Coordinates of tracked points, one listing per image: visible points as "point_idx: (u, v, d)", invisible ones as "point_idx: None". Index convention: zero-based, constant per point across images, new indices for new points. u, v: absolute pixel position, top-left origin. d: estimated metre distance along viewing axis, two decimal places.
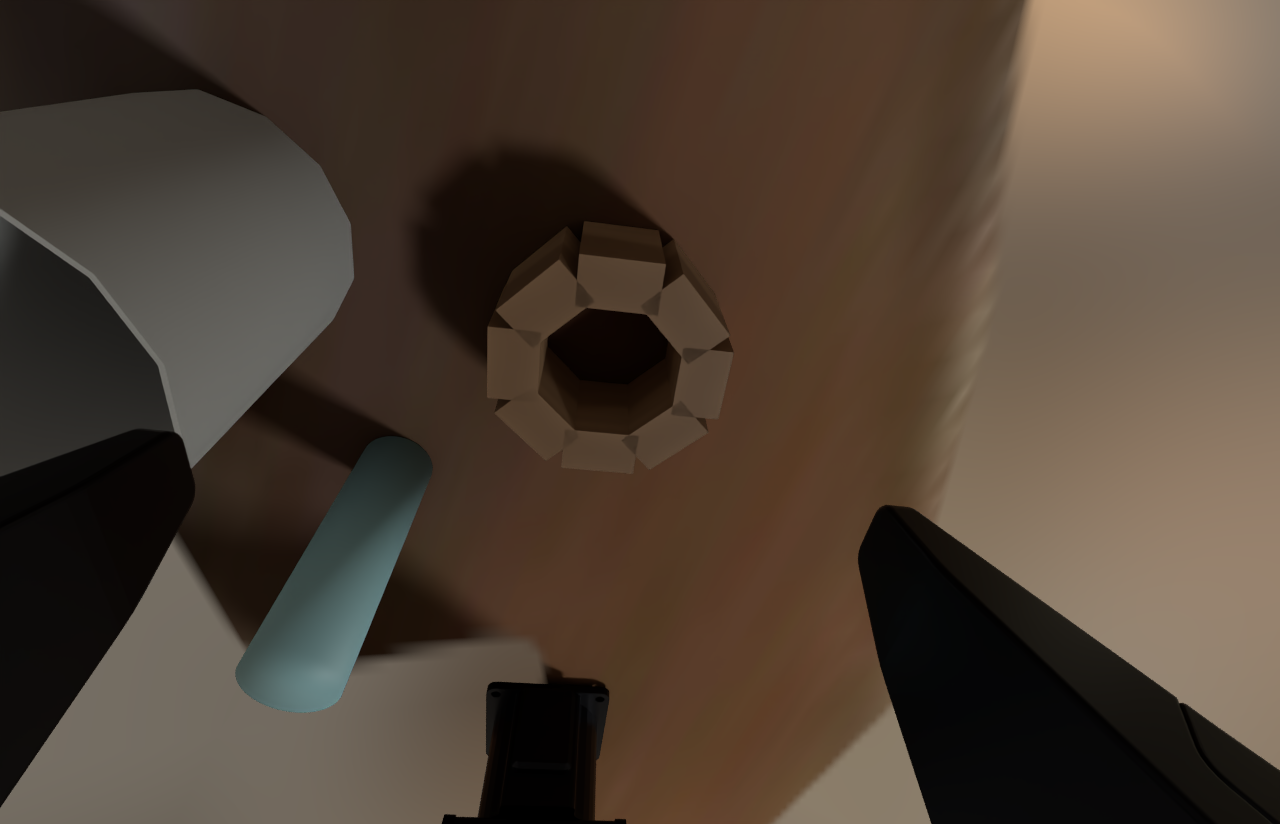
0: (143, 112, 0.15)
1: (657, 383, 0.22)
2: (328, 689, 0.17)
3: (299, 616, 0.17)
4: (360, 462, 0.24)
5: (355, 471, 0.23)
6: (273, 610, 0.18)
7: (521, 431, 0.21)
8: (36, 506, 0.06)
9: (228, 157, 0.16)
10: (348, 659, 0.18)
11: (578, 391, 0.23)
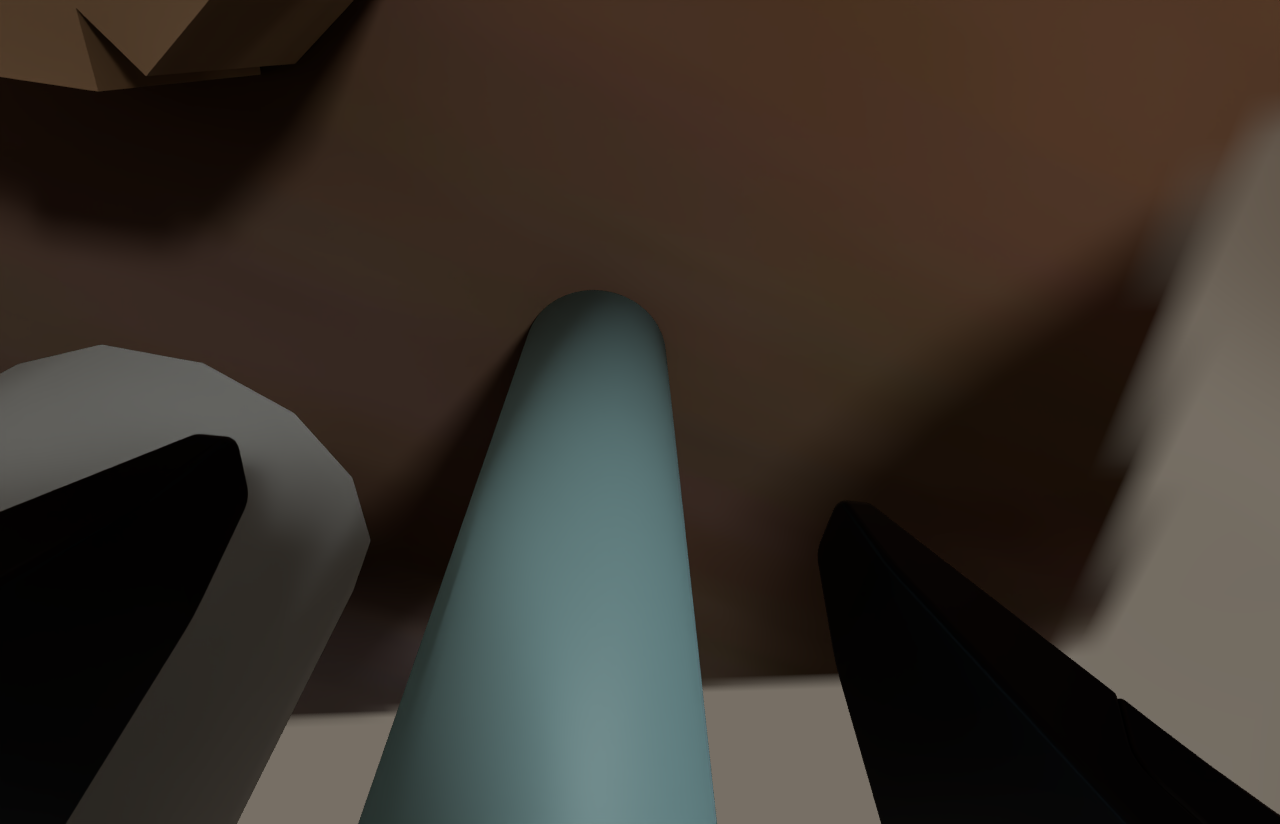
0: None
1: None
2: None
3: None
4: None
5: None
6: None
7: None
8: (111, 513, 0.06)
9: None
10: None
11: None
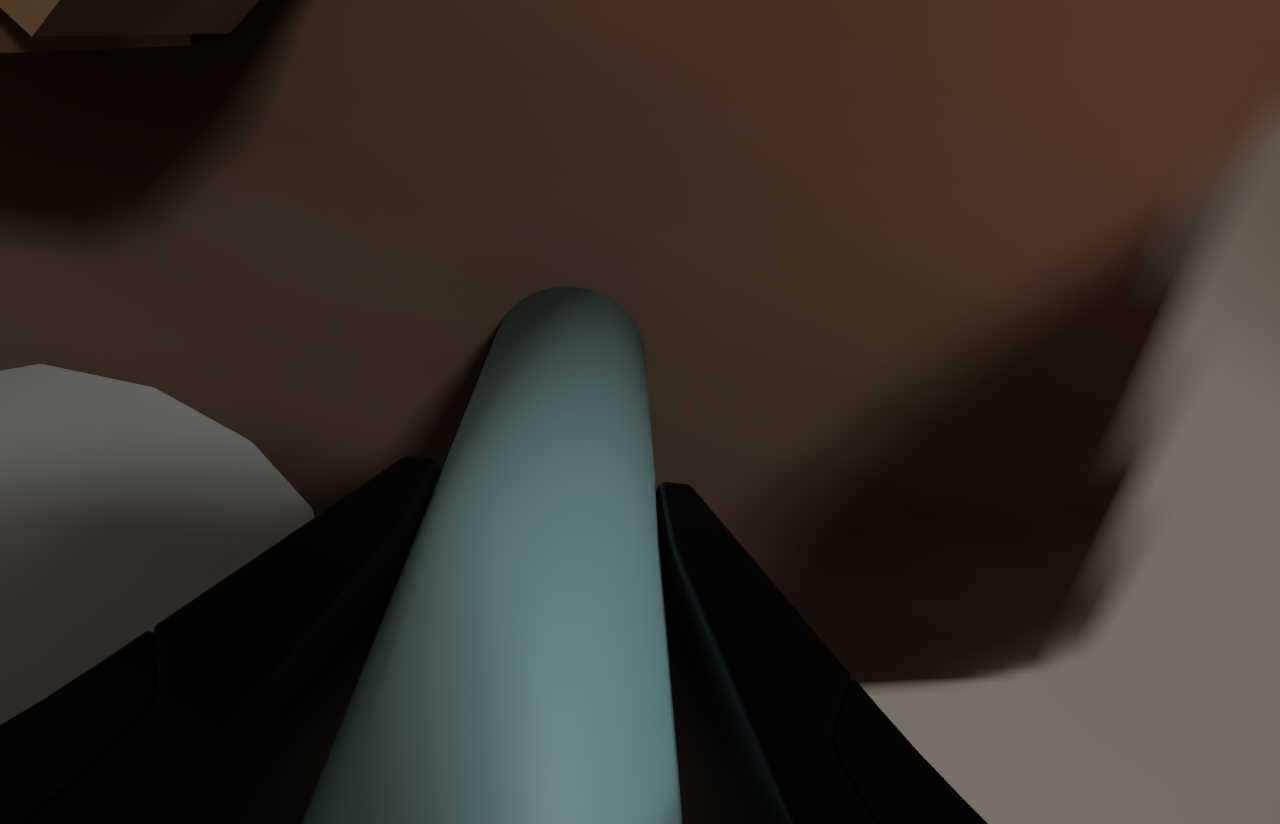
0: None
1: None
2: None
3: None
4: None
5: None
6: None
7: None
8: (380, 537, 0.06)
9: None
10: None
11: None
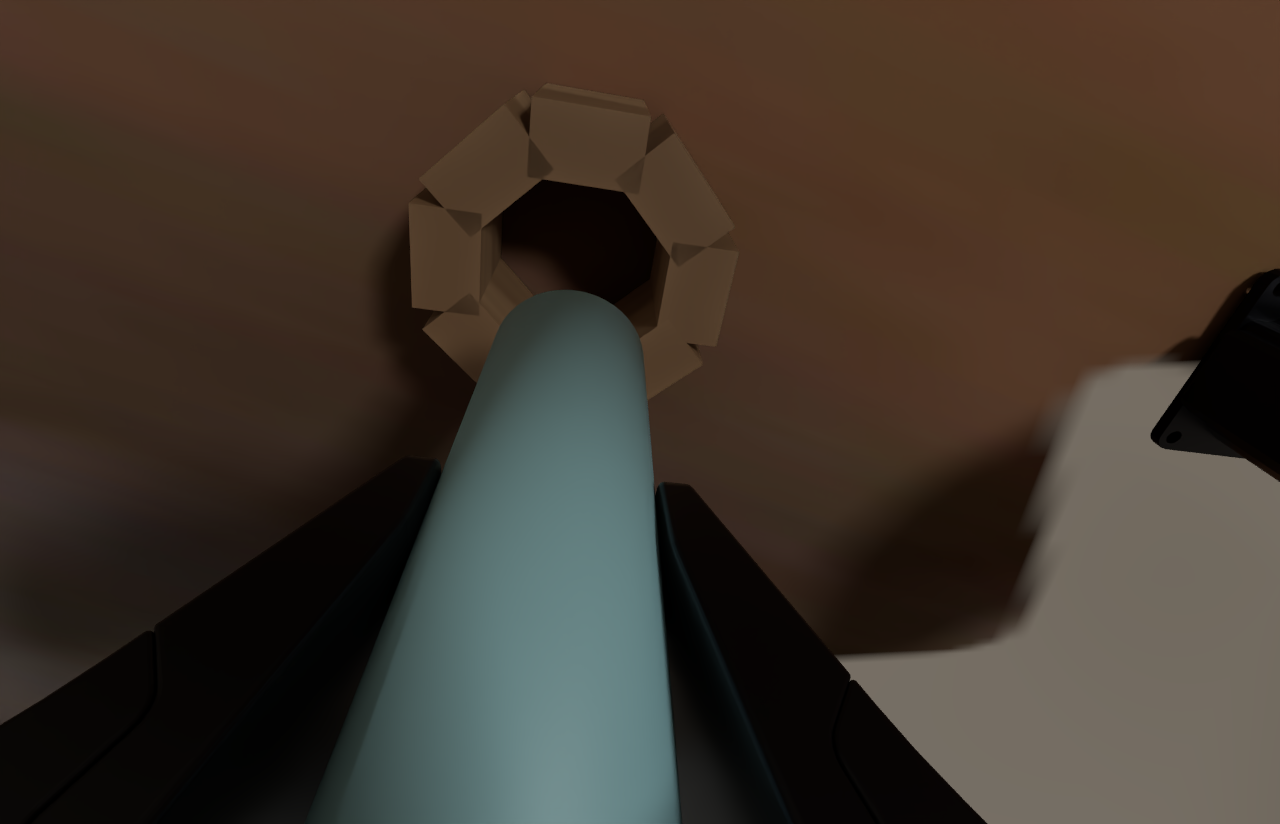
0: None
1: None
2: None
3: None
4: None
5: None
6: None
7: (654, 387, 0.17)
8: (380, 537, 0.06)
9: None
10: None
11: (651, 289, 0.18)
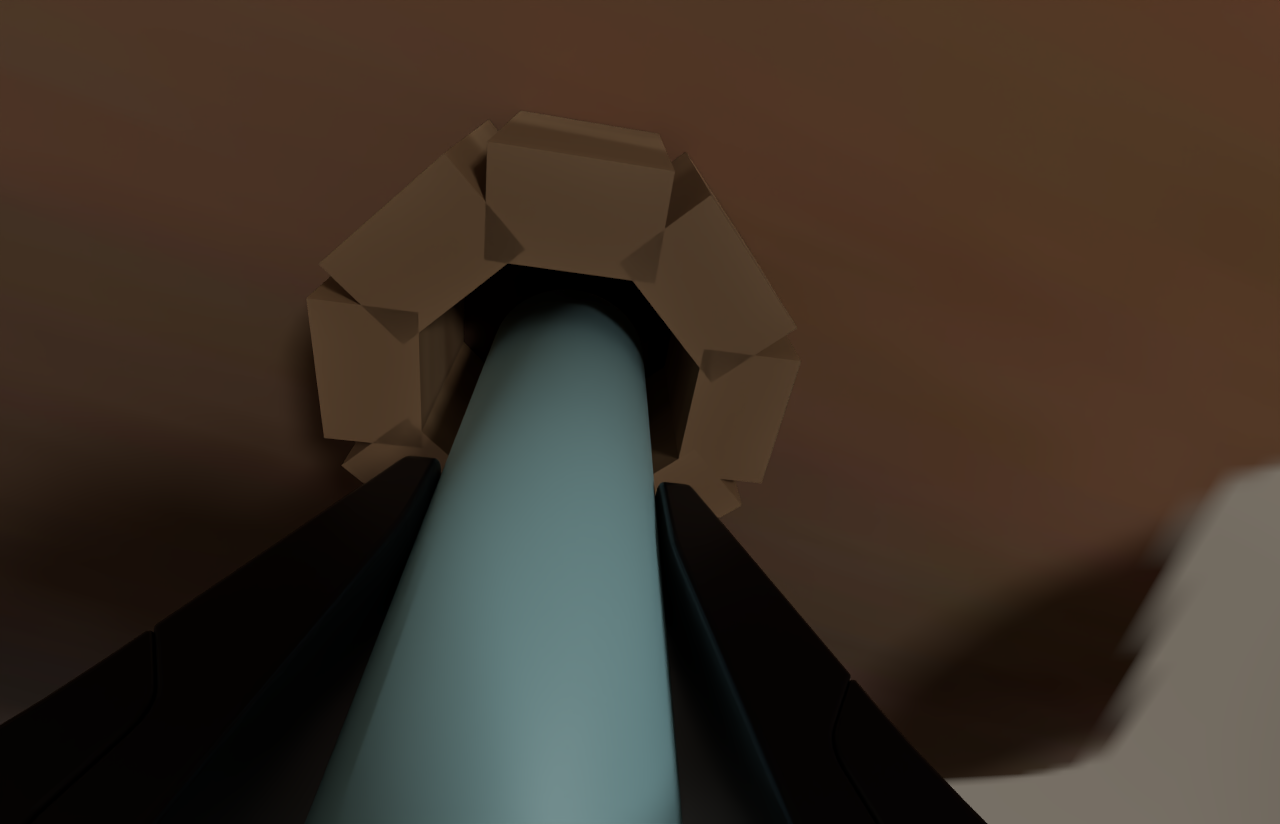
0: None
1: None
2: None
3: None
4: None
5: None
6: None
7: None
8: (380, 537, 0.06)
9: None
10: None
11: (666, 386, 0.13)
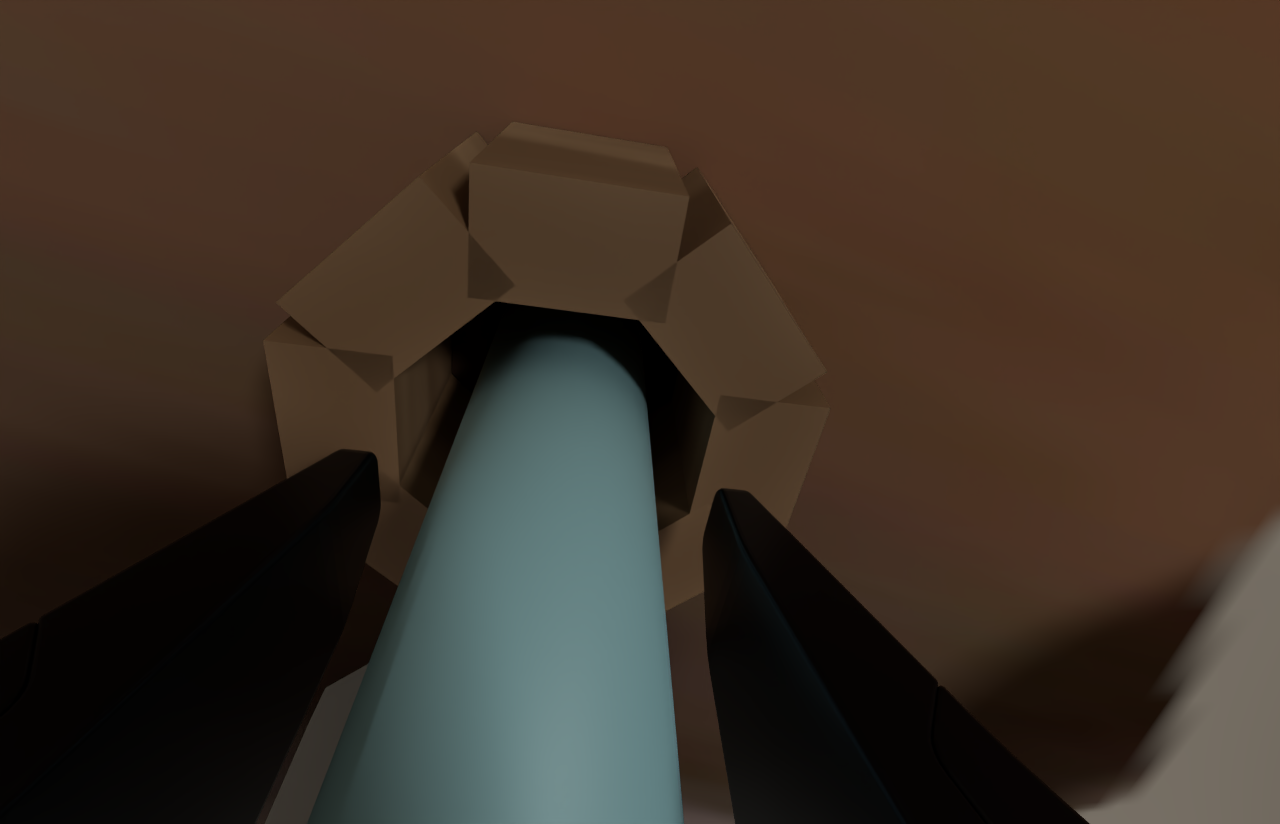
0: None
1: None
2: None
3: None
4: None
5: None
6: None
7: (683, 592, 0.11)
8: (297, 529, 0.06)
9: (288, 813, 0.14)
10: None
11: (675, 424, 0.12)
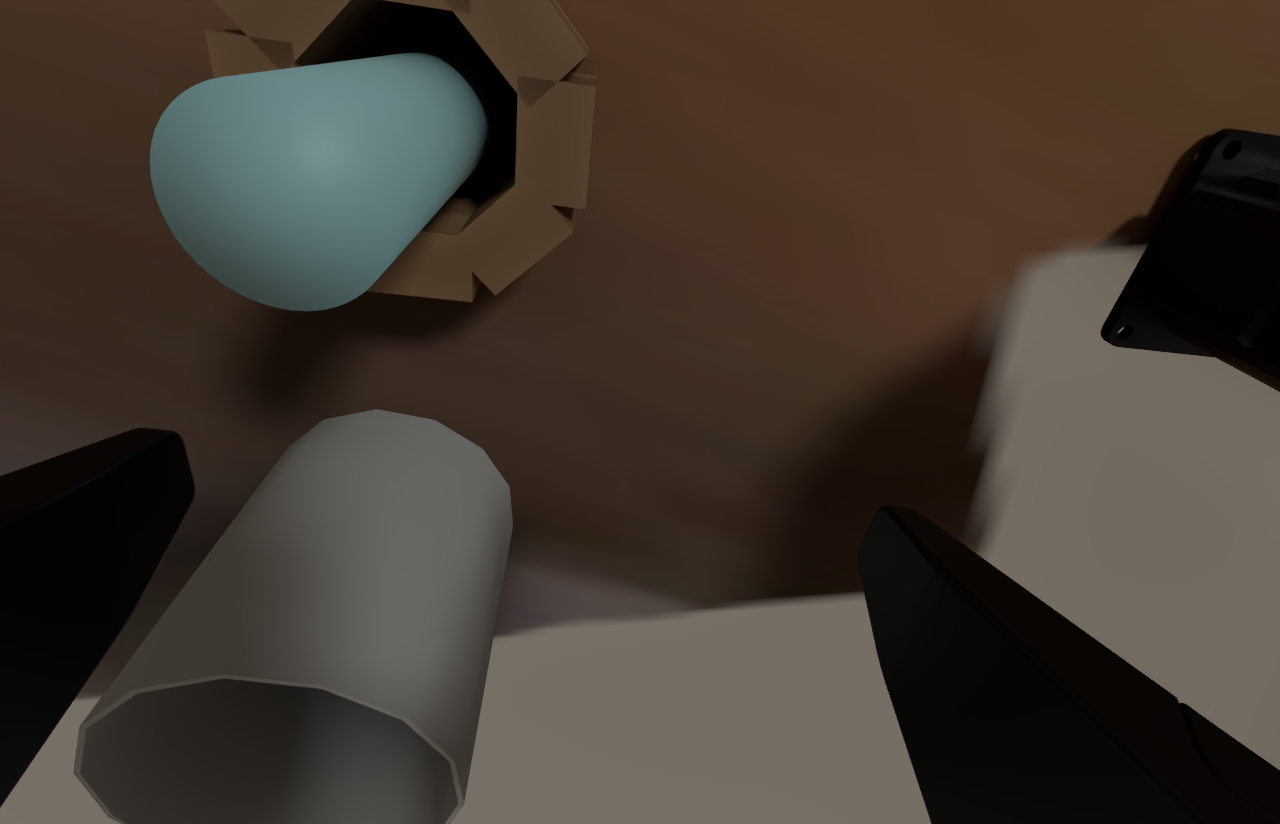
0: None
1: None
2: (285, 121, 0.07)
3: None
4: None
5: None
6: None
7: (523, 262, 0.15)
8: (36, 506, 0.06)
9: (253, 503, 0.18)
10: None
11: None
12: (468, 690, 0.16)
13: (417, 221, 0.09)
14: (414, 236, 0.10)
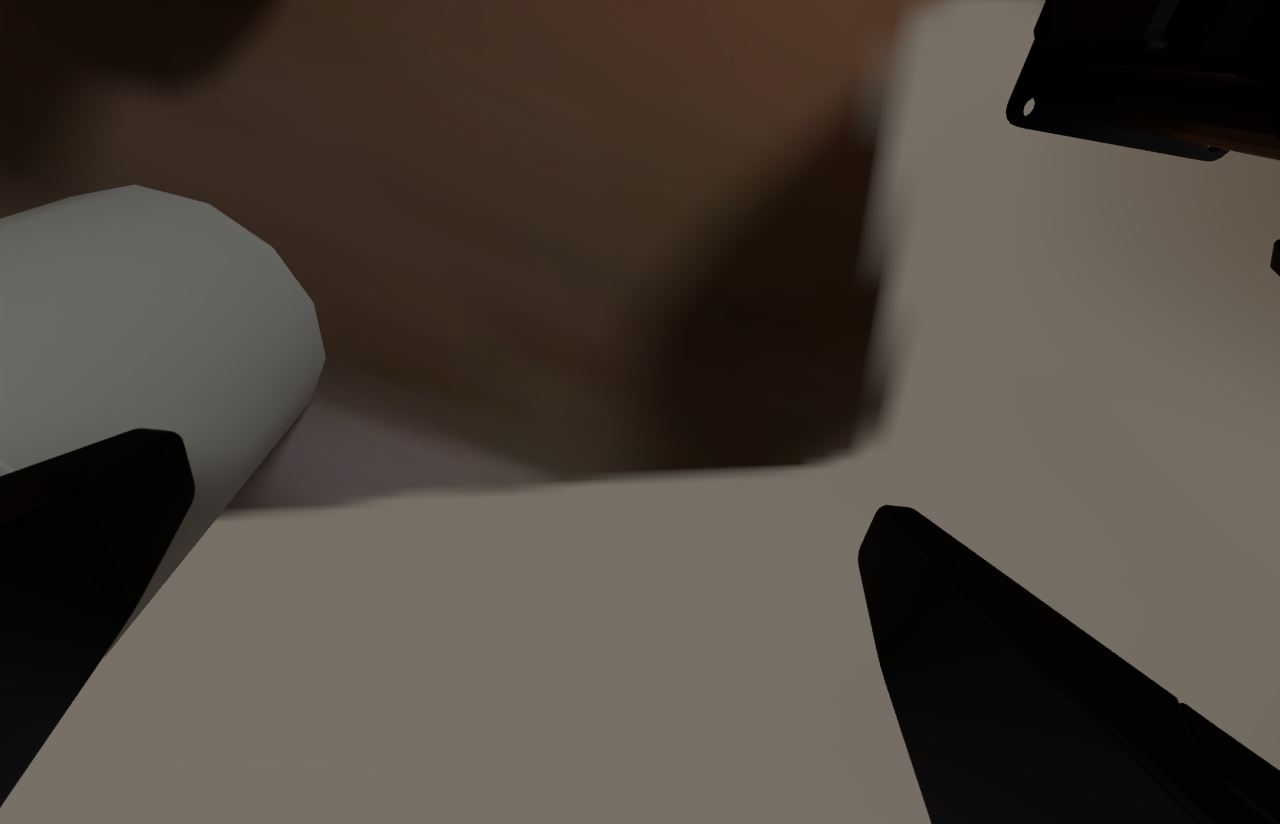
0: None
1: None
2: None
3: None
4: None
5: None
6: None
7: None
8: (36, 506, 0.06)
9: None
10: None
11: None
12: None
13: None
14: None
